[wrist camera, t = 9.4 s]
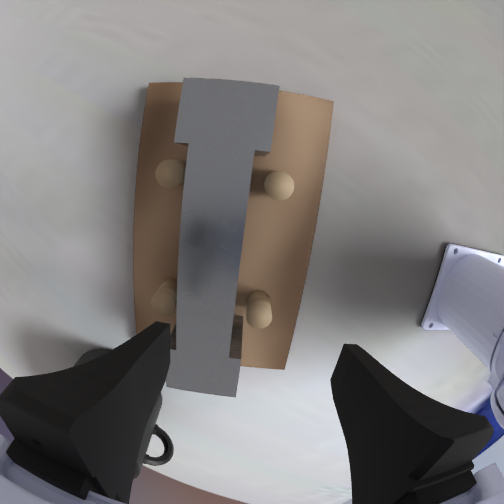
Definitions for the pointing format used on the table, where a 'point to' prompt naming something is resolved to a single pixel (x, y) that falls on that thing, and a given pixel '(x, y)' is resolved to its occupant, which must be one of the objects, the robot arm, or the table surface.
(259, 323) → the peg rack
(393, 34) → the table surface
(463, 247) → the robot arm
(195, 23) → the table surface
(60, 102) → the table surface
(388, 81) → the table surface
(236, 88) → the gray notched long block
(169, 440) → the mug
